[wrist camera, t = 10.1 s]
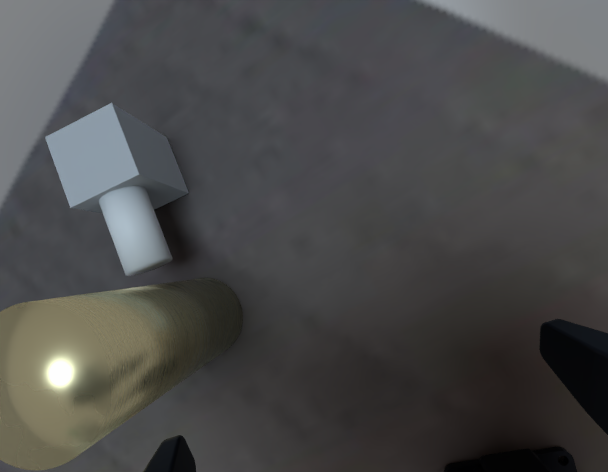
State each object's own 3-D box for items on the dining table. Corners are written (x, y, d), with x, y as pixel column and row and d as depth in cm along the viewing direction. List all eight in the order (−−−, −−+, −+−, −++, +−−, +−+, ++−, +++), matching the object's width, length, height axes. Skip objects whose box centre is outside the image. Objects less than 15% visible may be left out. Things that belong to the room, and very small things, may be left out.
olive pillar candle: (258, 314, 23) (142, 382, 10) (207, 372, 23) (35, 506, 11) (202, 262, 24) (31, 267, 11) (153, 319, 24) (-67, 386, 11)
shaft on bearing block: (113, 163, 25) (45, 137, 19) (166, 137, 24) (111, 102, 19) (157, 277, 24) (97, 283, 18) (212, 252, 23) (168, 251, 18)
